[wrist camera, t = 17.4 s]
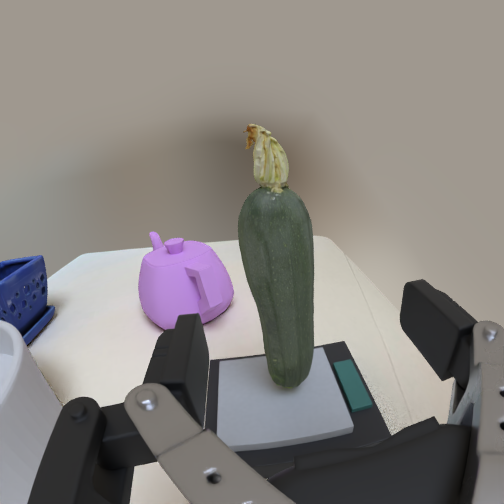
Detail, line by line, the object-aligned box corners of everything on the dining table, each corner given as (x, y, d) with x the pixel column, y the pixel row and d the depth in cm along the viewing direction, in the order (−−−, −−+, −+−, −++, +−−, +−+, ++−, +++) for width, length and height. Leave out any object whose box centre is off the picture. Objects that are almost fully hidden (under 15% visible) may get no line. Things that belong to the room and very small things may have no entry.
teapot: (195, 275, 55) (184, 218, 51) (262, 315, 40) (253, 238, 36) (129, 300, 48) (113, 240, 44) (176, 359, 33) (151, 274, 29)
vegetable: (324, 397, 21) (319, 115, 14) (275, 420, 19) (241, 118, 12) (296, 367, 25) (279, 123, 18) (252, 385, 23) (215, 128, 16)
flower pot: (20, 313, 45) (0, 259, 41) (65, 313, 45) (44, 251, 41) (-15, 349, 33) (-42, 289, 28) (29, 356, 32) (-3, 285, 28)
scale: (342, 358, 30) (345, 333, 28) (385, 452, 17) (395, 430, 16) (214, 376, 29) (208, 352, 28) (209, 482, 17) (198, 463, 16)
